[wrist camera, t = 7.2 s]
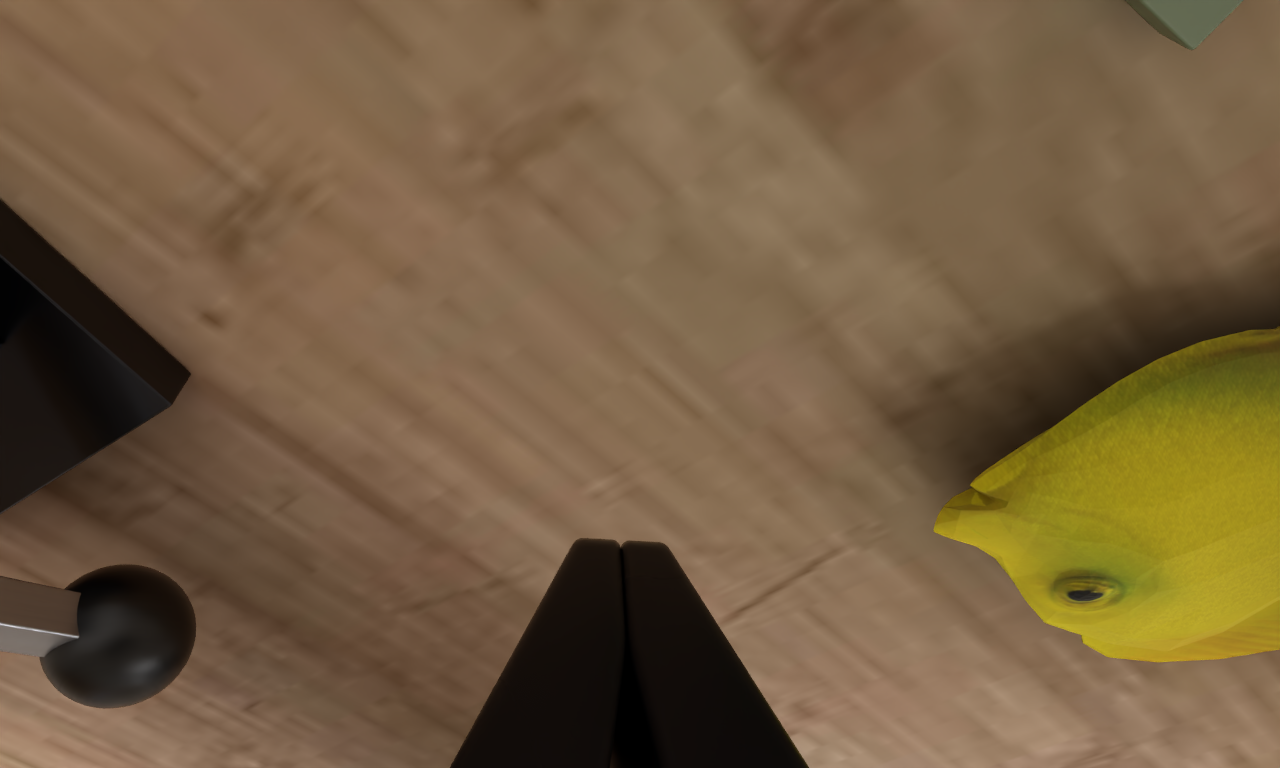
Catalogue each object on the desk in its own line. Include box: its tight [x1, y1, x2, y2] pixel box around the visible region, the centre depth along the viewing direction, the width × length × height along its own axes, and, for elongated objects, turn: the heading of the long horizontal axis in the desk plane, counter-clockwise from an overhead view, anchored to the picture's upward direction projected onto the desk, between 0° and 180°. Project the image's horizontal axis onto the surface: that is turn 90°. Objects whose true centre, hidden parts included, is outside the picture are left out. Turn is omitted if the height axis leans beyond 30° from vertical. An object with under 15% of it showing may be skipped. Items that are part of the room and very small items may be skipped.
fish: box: [934, 326, 1280, 662], centre depth 22 cm, size 3×16×10 cm
